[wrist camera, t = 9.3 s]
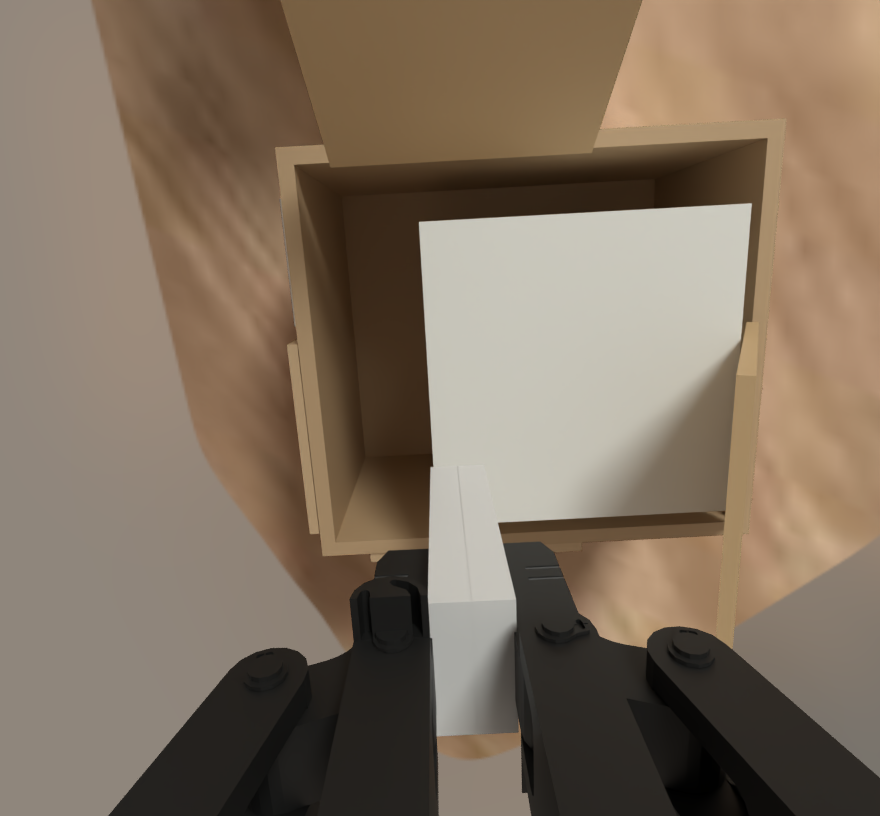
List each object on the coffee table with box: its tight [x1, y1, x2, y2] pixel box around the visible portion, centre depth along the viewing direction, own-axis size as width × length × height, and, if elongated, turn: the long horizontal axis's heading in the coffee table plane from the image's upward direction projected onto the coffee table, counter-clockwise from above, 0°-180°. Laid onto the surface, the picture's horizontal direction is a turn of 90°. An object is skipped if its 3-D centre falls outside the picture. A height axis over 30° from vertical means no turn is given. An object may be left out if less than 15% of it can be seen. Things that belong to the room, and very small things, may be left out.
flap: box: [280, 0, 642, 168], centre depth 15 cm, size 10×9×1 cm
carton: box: [275, 118, 787, 562], centre depth 26 cm, size 16×18×15 cm
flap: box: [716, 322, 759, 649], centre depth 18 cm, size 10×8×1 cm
